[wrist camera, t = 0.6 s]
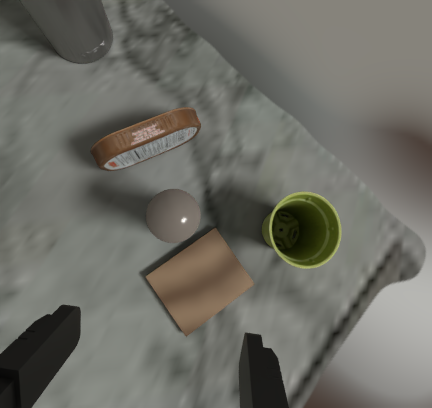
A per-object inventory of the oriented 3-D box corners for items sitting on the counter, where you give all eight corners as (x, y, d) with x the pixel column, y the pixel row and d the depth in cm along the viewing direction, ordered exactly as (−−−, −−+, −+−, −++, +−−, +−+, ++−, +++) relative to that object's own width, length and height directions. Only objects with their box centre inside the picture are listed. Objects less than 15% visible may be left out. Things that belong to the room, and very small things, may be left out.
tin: (193, 123, 41) (195, 95, 32) (202, 141, 41) (206, 117, 32) (101, 160, 39) (78, 140, 30) (110, 179, 38) (89, 164, 30)
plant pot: (315, 209, 41) (348, 203, 33) (301, 268, 40) (333, 277, 32) (260, 192, 41) (279, 182, 32) (244, 251, 39) (260, 256, 31)
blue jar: (151, 216, 38) (135, 208, 27) (182, 195, 39) (180, 178, 27) (172, 247, 38) (166, 253, 26) (203, 225, 39) (210, 222, 27)
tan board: (146, 275, 37) (145, 276, 36) (214, 227, 39) (215, 227, 38) (186, 333, 37) (186, 336, 36) (252, 282, 39) (254, 284, 38)
